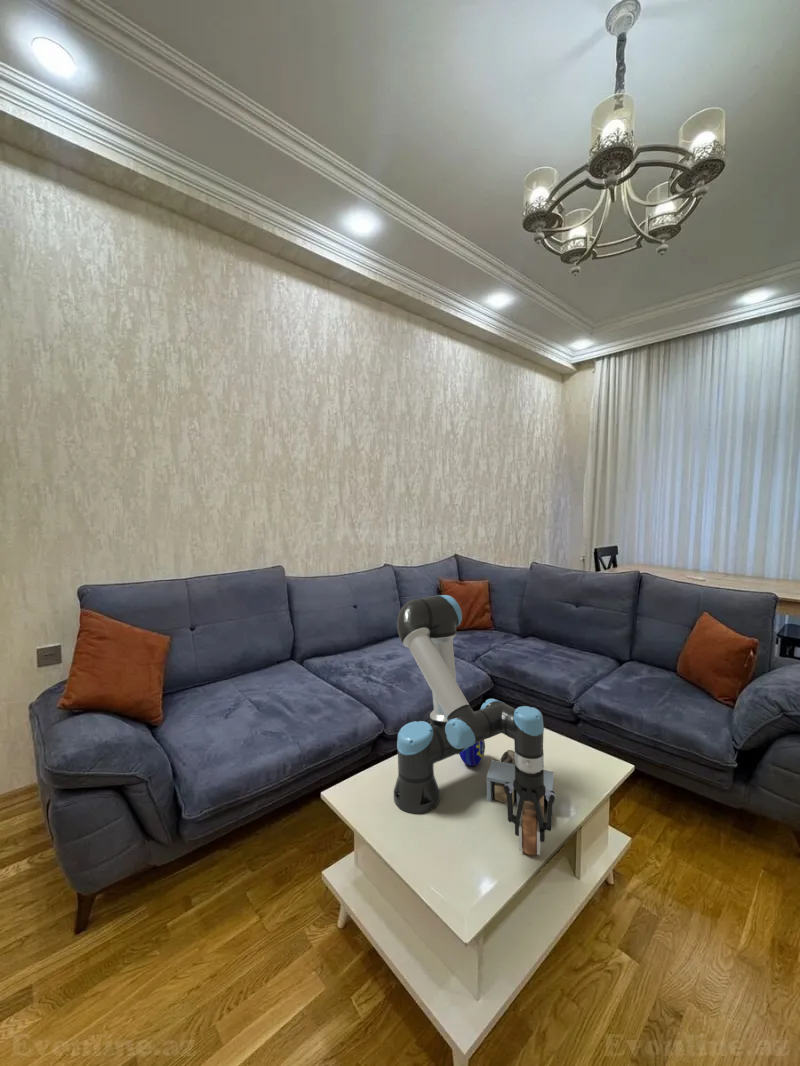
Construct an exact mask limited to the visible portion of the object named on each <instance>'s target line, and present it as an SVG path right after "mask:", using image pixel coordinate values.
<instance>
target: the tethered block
mask: <svg viewBox="0 0 800 1066" xmlns="http://www.w3.org/2000/svg"><path fill="white" fill-rule="evenodd" d="M540 805H541V809H542V814H543V818H545V817H544V816H545V796H544V795H543V796H542V797H541V798H540ZM521 821H522V851H523V852H524V853H525V854H526V855H529V856H534V855H537V824H538V820H537V815H536V811H535V807H534V803H533V802H530V801H524V805H523V809H522V814H521Z"/></svg>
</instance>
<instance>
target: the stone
mask: <svg viewBox="0 0 800 1066" xmlns="http://www.w3.org/2000/svg"><path fill="white" fill-rule="evenodd" d="M500 762H505V763H510V764H515V750H512V749H507V750H506V751H505V752H504V753H503V754H502V756H501V758H500Z"/></svg>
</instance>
